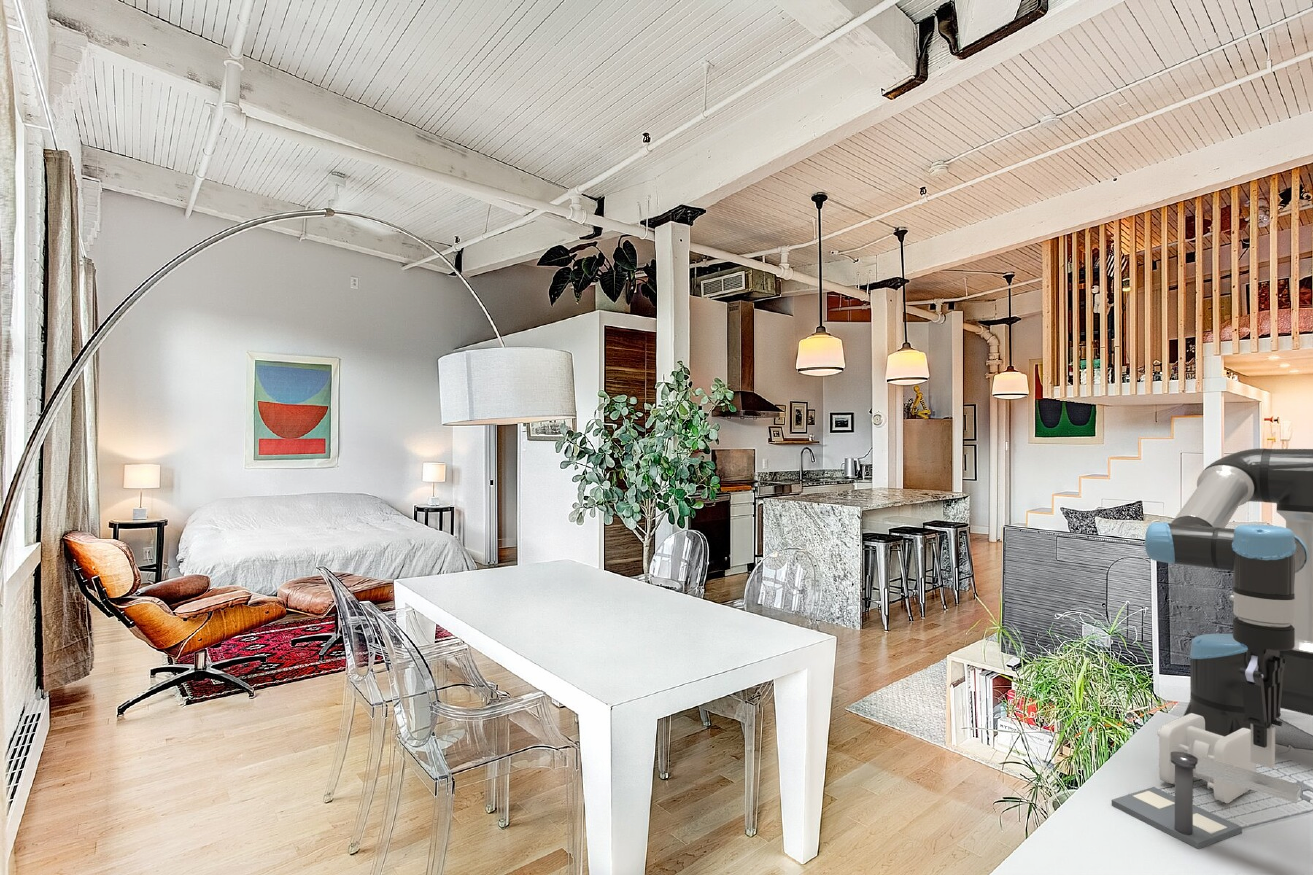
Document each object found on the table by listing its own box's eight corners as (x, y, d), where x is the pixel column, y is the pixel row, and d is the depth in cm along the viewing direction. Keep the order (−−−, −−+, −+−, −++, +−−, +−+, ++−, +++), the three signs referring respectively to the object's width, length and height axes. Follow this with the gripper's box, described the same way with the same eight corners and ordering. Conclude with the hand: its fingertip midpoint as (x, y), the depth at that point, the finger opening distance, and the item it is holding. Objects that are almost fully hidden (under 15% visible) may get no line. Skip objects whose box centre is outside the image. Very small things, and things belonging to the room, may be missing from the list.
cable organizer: (1222, 810, 121) (1222, 746, 121) (1155, 784, 130) (1155, 724, 130) (1257, 789, 128) (1258, 728, 128) (1191, 765, 137) (1192, 708, 137)
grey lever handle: (1300, 792, 104) (1300, 785, 104) (1296, 803, 101) (1296, 795, 101) (1174, 755, 116) (1174, 748, 116) (1167, 763, 113) (1167, 756, 113)
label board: (1153, 791, 127) (1154, 728, 127) (1241, 832, 114) (1242, 761, 114) (1111, 805, 122) (1111, 739, 122) (1198, 848, 109) (1198, 775, 109)
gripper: (1248, 609, 117) (1248, 744, 117) (1218, 621, 110) (1218, 765, 110) (1307, 619, 110) (1306, 762, 111) (1279, 632, 103) (1279, 785, 104)
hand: (1262, 763), depth 110 cm, fingers closed
